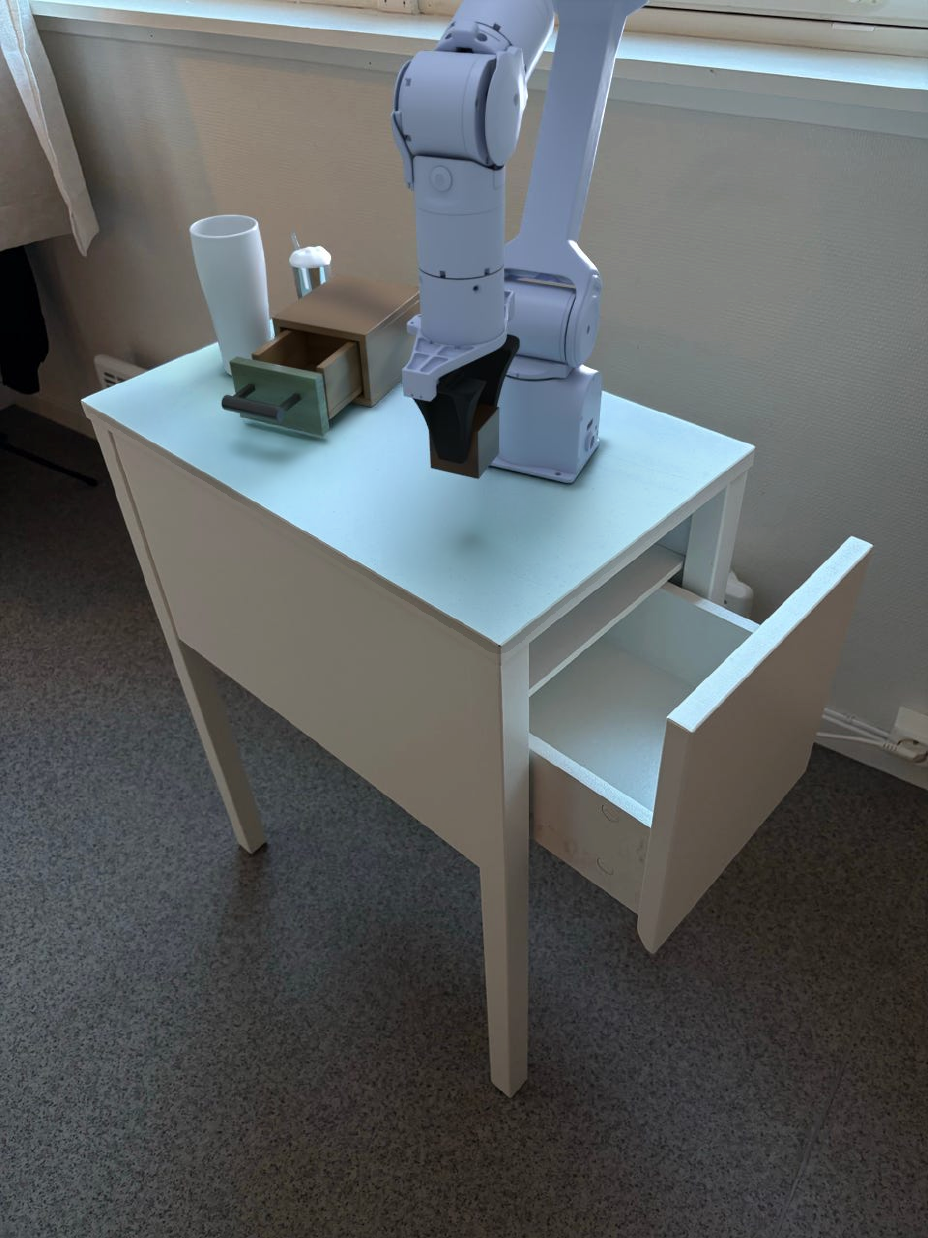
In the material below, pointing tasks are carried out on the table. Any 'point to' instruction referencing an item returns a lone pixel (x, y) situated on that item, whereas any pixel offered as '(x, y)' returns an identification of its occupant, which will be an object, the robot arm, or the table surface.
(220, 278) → the drinking glass
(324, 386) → the drawer
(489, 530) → the table surface
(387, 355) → the cabinet
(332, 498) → the table surface
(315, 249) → the milkshake
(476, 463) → the block
